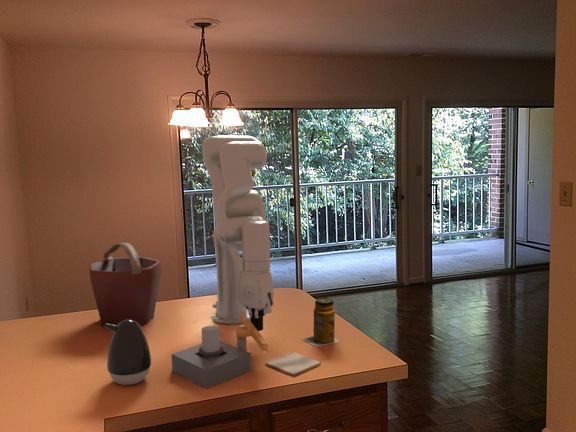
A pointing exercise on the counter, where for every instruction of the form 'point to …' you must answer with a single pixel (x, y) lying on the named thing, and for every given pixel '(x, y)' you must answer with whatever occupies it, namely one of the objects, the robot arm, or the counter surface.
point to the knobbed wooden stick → (250, 332)
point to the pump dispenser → (128, 353)
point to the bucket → (125, 286)
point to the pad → (293, 363)
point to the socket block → (212, 364)
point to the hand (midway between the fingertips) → (257, 330)
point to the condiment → (323, 323)
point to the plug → (210, 343)
